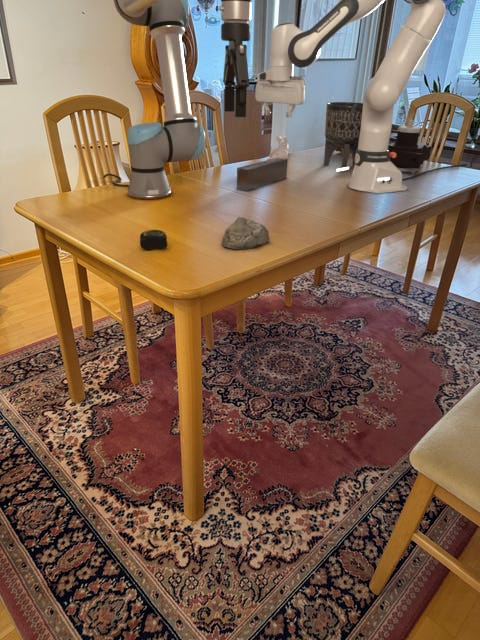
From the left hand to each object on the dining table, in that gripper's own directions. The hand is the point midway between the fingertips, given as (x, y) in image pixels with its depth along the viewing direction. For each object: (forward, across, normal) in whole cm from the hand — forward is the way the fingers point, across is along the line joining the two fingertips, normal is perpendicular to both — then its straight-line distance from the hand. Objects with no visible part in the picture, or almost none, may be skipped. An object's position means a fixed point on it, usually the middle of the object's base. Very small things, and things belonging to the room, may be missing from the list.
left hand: (234, 114), depth 126 cm
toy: (+30, -99, +84) cm, 133 cm away
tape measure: (+30, +21, -26) cm, 45 cm away
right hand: (+6, -47, +28) cm, 55 cm away
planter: (+30, -66, +67) cm, 99 cm away
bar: (+30, -41, +21) cm, 55 cm away
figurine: (+30, -75, +38) cm, 89 cm away
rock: (+30, +23, -1) cm, 37 cm away
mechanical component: (+30, -58, +95) cm, 115 cm away
